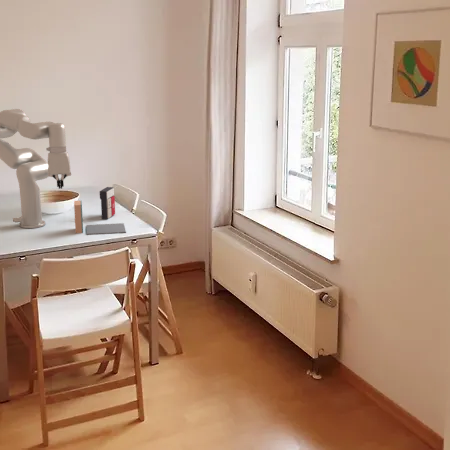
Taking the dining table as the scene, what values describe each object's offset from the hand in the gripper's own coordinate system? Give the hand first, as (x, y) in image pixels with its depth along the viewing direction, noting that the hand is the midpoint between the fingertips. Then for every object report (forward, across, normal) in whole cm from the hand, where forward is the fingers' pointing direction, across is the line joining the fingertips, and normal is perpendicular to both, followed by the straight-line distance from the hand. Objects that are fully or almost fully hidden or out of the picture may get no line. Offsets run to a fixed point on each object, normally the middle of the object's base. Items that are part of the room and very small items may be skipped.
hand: (60, 188), depth 309 cm
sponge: (+22, +8, 0) cm, 23 cm away
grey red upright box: (+22, +22, +24) cm, 40 cm away
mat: (+22, +20, 0) cm, 30 cm away
